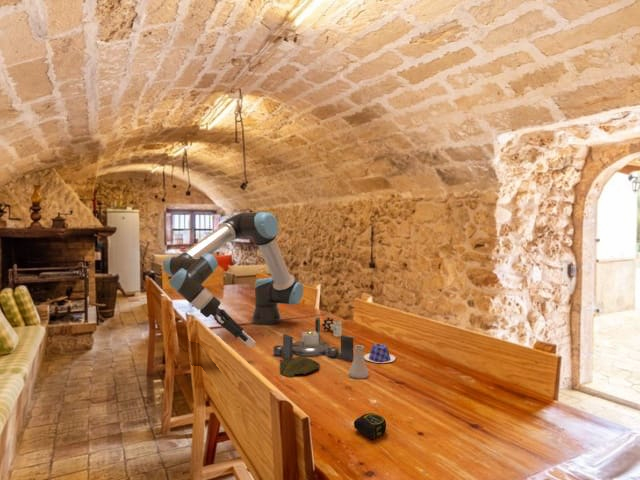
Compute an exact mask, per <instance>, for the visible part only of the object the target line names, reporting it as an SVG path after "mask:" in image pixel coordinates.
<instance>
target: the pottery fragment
mask: <svg viewBox="0 0 640 480" xmlns="http://www.w3.org/2000/svg"><path fill="white" fill-rule="evenodd" d="M320 367H321V364H320V363H319V362H318V361H315V360H314V359H311V358H309V357H304V356H296V357H293V358H292V359H280V360H279V369H280V370H279V371H280V372H279V373H280V375H282V376H284V377H288V378H290V379H291V378H292V377H293V376H295V375H306V374H309V373H311V372H313V371H315V370H318V369H319V368H320Z"/></svg>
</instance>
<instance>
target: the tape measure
mask: <svg viewBox="0 0 640 480" xmlns="http://www.w3.org/2000/svg"><path fill="white" fill-rule="evenodd" d="M353 427H354V429H355V430H357V431H358V432H359V433H361V434H363V435H365V436H366V437H368V438H369V439H372V440H376V438H378V437H382V436H383V435H384V434H385V432H386V430H387V423H386V419H385V418H384V416H382V415H380V414H378V413H372V412H369V413H365V414H362V415H361V416H360V417H358V418H356V419H355V420H354V422H353Z"/></svg>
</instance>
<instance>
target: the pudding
mask: <svg viewBox="0 0 640 480" xmlns="http://www.w3.org/2000/svg"><path fill="white" fill-rule="evenodd" d="M363 358H364V360H366V361H369V362H371V363H377V364H378V363H379V364H384V363H391V362H394V361H395V360H396V356H395V355H393V354H390V351H389V348H388V346H387V345H385V344H382V343H375V344H373V345H372V346H371V348H370V352H369V353H366V354H365V355H363Z"/></svg>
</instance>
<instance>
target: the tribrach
mask: <svg viewBox="0 0 640 480" xmlns="http://www.w3.org/2000/svg"><path fill="white" fill-rule="evenodd" d="M293 355H294V356H297V357H306V358H309V357H310V358H311V357H312V358H313V357H315V358H316V357H320V356H321V357H322V356H326V357H328V358H330V359H339V360H344V361H348V362H350V363H352V362H353V359H354V337H353V336H349V335H344V334H342V335H341V336H340V347H337V346H330V344H329V343H328V342H327V341H324V340H321V317H320V316H317V317H316V318H315V330H313V331H312V330H310V331H309V330H308V331H301V340H298V341H295V342H293Z"/></svg>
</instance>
